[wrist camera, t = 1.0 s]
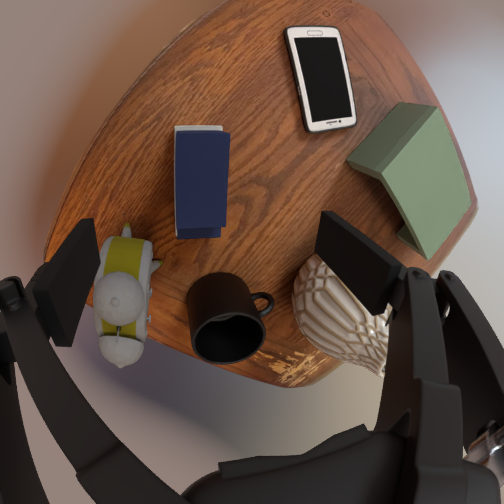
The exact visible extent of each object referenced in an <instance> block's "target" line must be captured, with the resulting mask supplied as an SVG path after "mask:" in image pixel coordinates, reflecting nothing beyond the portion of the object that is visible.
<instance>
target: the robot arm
mask: <svg viewBox="0 0 504 504" xmlns="http://www.w3.org/2000/svg"><path fill="white" fill-rule="evenodd" d="M314 252H315V253H316V254H317V255H318V256H319V257H320V258H321V259H322V260H323V261H324V263H325V264H326V265H327V266H328V267H329V268H330V269H331V270H332V271H333V272H334V273H335V275H336V276H337V277H338V278H339V279H340V280H341V281H342V282H343V283H344V285H345V286H346V287H347V288H348V289H349V290H350V291H351V292H352V294H353V295H354V296H355V297H356V298H357V299H358V300H359V301H360V303H361V304H362V305H363V306H364V307H365V308H366V309H367V311H368V312H369V313H370V314H371V315H372V316H376V315H380V314H384V312H385V310H386V307H387V305H388V303H389V304H390V305H391V306H392V307H393V308H392V310H391V312H390V315H389V317H388V319H387V321H386V324H385V326H386V327H387V325H388V324H389V336H388V348H387V358H386V367H385V375H384V382H383V389H382V396H381V402H380V407H379V413H378V418H377V422H376V426H375V428H374V430H373V431H368V430H367V428H366V426H365V425H364V424H361V425H359V426H356V427H354V428H351V429H349V430H346V431H343V432H341V433H338V434H335V435H333V436H332V437H330V438H328V439H327V440H325V441H324V442H322V443H321V444H319V445H318V446H316V447H314V448H313V449H311V450H309V451H308V452H306V453H304V454H301V455H291V456H255V457H250V458H245V459H239V460H233V461H226V462H219V463H218V468H219V470H218V471H215V472H212V473H210V474H208V475H206V476H204V477H202V478H200V479H199V480H197V481H195V482H194V483H193V484H191V485H190V486H189V487H188V488H187V489H186V490H185V491H184V492H183V493H182V494H181V495H179V494H178V493H177V492H175V491H174V490H173V489H171V488H170V487H169V486H168V485H167V484H166V483H164V482H163V481H162V480H161V479H160V478H159V477H158V476H156V475H155V474H154V473H153V472H152V471H151V470H150V469H149V468H148V467H147V466H145V465H144V464H143V463H142V462H141V461H140V460H139V459H138V458H137V457H136V456H135V455H134V454H133V453H132V452H131V451H130V450H129V449H128V448H127V447H126V446H125V445H124V444H123V443H122V442H121V441H120V440H119V439H118V438H117V437H116V436H115V435H114V434H113V432H112V431H111V430H110V429H109V428H108V427H107V425H106V424H105V423H104V422H103V421H102V419H101V418H100V417H99V416H98V415H97V413H96V412H95V411H94V409H93V408H92V407H91V405H90V404H89V403H88V402H87V400H86V399H85V397H84V396H83V395H82V393H81V392H80V390H79V389H78V388H77V386H76V385H75V383H74V382H73V380H72V379H71V377H70V376H69V374H68V373H67V371H66V370H65V368H64V366H63V365H62V363H61V361H60V360H59V358H58V357H57V355H56V353H55V351H54V350H53V348H52V346H51V344H50V343H49V339H50V336H51V337H52V339H53V341H54V344H55V346H61V347H71V346H72V343H73V340H74V336H75V333H76V330H77V326H78V323H79V320H80V317H81V314H82V311H83V308H84V306H85V303H86V300H87V297H88V295H89V292H90V289H91V287H92V284H93V281H94V279H95V276H96V274H97V271H98V269H99V267H100V264H101V260H100V255H99V250H98V244H97V239H96V232H95V226H94V219H93V218H87V219H81V220H80V221H79V222H78V224H77V225H76V226H75V227H74V229H73V230H72V231H71V232H70V234H69V235H68V236H67V238H66V239H65V240H64V242H63V243H62V244H61V246H60V247H59V249H58V250H57V251H56V253H55V254H54V256H53V257H52V258H51V260H50V261H49V262H45V263H44V264H43V265H42V266H40V267H39V268H38V269H37V271H36V272H35V274H34V276H33V277H32V278H31V280H30V281H29V283H28V284H27V286H26V287H25V289H24V287H23V284H22V282H21V279H20V278H19V277H17V276H11V277H7V278H5V279H3V280H1V281H0V310H1V312H0V504H50V503H49V501H48V499H47V496H46V494H45V492H44V489H43V487H42V484H41V482H40V479H39V477H38V473H37V471H36V468H35V465H34V462H33V459H32V455H31V452H30V448H29V445H28V441H27V438H26V433H25V429H24V425H23V421H22V416H21V410H20V405H19V399H18V392H17V385H16V377H15V367H14V362H17V363H18V366H19V368H20V371H21V374H22V376H23V378H24V381H25V383H26V385H27V387H28V390H29V392H30V394H31V396H32V398H33V400H34V402H35V404H36V406H37V408H38V410H39V412H40V414H41V416H42V418H43V420H44V421H45V423H46V425H47V427H48V428H49V430H50V432H51V434H52V435H53V437H54V438H55V440H56V442H57V443H58V445H59V447H60V448H61V449H62V451H63V453H64V454H65V456H66V457H67V458H68V460H69V461H70V463H71V464H72V465H73V467H74V469H75V470H76V472H77V473H76V477H77V479H78V481H79V482H80V484H81V485H82V487H83V488H84V489H85V491H86V492H87V493H88V494H89V495H90V497H91V498H92V499H93V500H94V501H95V503H96V504H501V498H500V488H501V486H502V485H503V484H504V349H503V347H502V345H501V343H500V341H499V339H498V338H497V336H496V334H495V332H494V331H493V329H492V327H491V326H490V324H489V322H488V321H487V319H486V317H485V316H484V314H483V313H482V311H481V310H480V308H479V306H478V305H477V303H476V302H475V300H474V299H473V297H472V296H471V294H470V293H469V292H468V290H467V289H466V287H465V286H464V284H463V283H462V282H461V280H460V279H459V278H458V277H457V276H456V275H455V274H454V273H453V272H450V271H445V270H442V271H440V273H439V275H438V278H437V279H433V278H431V277H430V275H429V274H428V273H427V272H426V271H424V270H422V269H420V268H416V267H409V268H406V267H405V266H404V265H403V264H402V263H400V262H399V261H398V260H397V259H396V258H394V257H393V256H392V255H390V254H389V253H388V252H387V251H385V250H384V249H383V248H382V247H380V246H379V245H378V244H376V243H375V242H374V241H372V240H371V239H370V238H368V237H367V236H366V235H365V234H363V233H362V232H360V231H359V230H358V229H356V228H355V227H354V226H352V225H351V224H350V223H348V222H347V221H345V220H344V219H343V218H341V217H340V216H338V215H337V214H336V213H334V212H333V211H321V217H320V223H319V229H318V234H317V239H316V245H315V250H314ZM449 306H450V311H449V314H448V316H447V317H446V315H445V314H446V312H447V310H448V307H449ZM463 446H464V449H465V451H466V453H467V455H466V456H465V457H464V458H463ZM462 458H463V459H462Z"/></svg>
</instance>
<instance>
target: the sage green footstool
mask: <svg viewBox="0 0 504 504" xmlns="http://www.w3.org/2000/svg"><path fill="white" fill-rule="evenodd" d="M346 161H347V162H348V164H349V165H350V166H351V168H353V169H355V170H358V171H360V172H363V173H365V174H367V175H370V176H372V177H374V178H377V179H379V180H381V182H382V184H383V185H384V187H385V188H386V190H387V192H388V193H389V195H390V197H391V198H392V200H393V202H394V203H395V205H396V207H397V209H398V210H399V212H400V214H401V216H402V217H403V219H404V221H405V224H404V226H403V227H402V228H401V229H400V230H399V231H398V232H397V234H396V235H397V236H398V238H399V240H401V241H402V242H403V243H405V244H406V245H408V246H409V247H410V248H412V249H413V250H414V251H416V252H417V253H418V254H420V255H421V256H423V257H424V258H425V259H426V260H428V261H429V259H430V258H431V257H432V256H433V254H434V253H435V252H436V251H437V250H438V248H439V247H440V246H441V244H442V243H443V242H444V241H445V239H446V238H447V237H448V235H449V234H450V233H451V231H452V230H453V229H454V227H455V226H456V225H457V223H458V222H459V221H460V219H461V218H462V216H463V215H464V214H465V212H466V211H467V209H468V208H469V206H470V205H471V199H470V195H469V191H468V187H467V184H466V180H465V177H464V173H463V170H462V167H461V164H460V161H459V158H458V155H457V152H456V149H455V146H454V144H453V141H452V138H451V136H450V133H449V131H448V128H447V126H446V124H445V121H444V119H443V117H442V114H441V112H440V110H439V108H438V107H436V106H429V105H421V104H413V103H403V102H399V103H398V104H397V105H396V107H395V108H394V109H393V110H392V111H391V112H390V113H389V114H388V115H387V116H386V117H385V118H384V119H383V120H382V121H381V123H380V124H379V125H378V126H377V127H376V128H375V129H374V130H373V131H372V132H371V133H370V134H369V135H368V136H367V137H366V138H365V140H364V141H363V142H362V143H361V144H360V145H359V146H358V147H357V148H356V149H355V150H354V151H353V152H352V153H351V154H350V155H349V157H348V158H347V159H346Z"/></svg>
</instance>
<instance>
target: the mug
mask: <svg viewBox="0 0 504 504" xmlns="http://www.w3.org/2000/svg"><path fill="white" fill-rule="evenodd" d="M258 298H264V299H266V300H267V301H268V305H267V306H266V308H264V309H263V310H260V311H258V310H257V308H256V305H255V303H254V300H256V299H258ZM273 307H274V299H273V297H272V296H271V295H270V294H269V293H266V292H258V293H252V294H250V291H249V289H248V287H247V285H246V284H245V282H244V281H243V280H242V279H240V278H239V277H237V276H235V275H232V274H229V273H213V274H209V275H206V276H204V277H202V278H201V279H199V280H198V281H197V282H195V283H194V285H193V286H192V287H191V289H190V290H189V292H188V295H187V310H188V319H189V327H190V335H191V343H192V348H193V350H194V352H195V353H196V355H197V356H198V357H200V358H201V359H202V360H204V361H206V362H209V363H213V364H220V365H226V364H233V363H237V362H240V361H243V360H245V359H247V358H249V357H251V356H252V355H253V354H255V353H256V352H257V351H258V350H259V349H260V348H261V346H262V345H263V343H264V340H265V336H266V330H265V326H264V324H263V322H262V319H261V318H263V317H264V316H265V315H267V314H268V313H270V311H271V310H272V309H273Z"/></svg>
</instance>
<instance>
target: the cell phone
mask: <svg viewBox="0 0 504 504" xmlns="http://www.w3.org/2000/svg"><path fill="white" fill-rule="evenodd" d="M284 35H285V39H286V43H287V47H288V51H289V55H290V59H291V63H292V67H293V72H294V76H295V81H296V85H297V87H298V91H299V99H300V104H301V109H302V115H303V120H304V125H305V128H306V131H307V132H308V133H321V132H327V131H333V130H339V129H345V128H351V127H354V126H356V124H357V114H356V107H355V108H354V106H355V101H353V100H354V95H352V94H353V89H352V83H351V78H350V73H349V68H348V63H347V59H346V54H345V50H344V46H343V42H342V38H341V34H340V32H339V29H338V28H337V27H335V26H324V25H298V26H289V27H287V28H285V29H284Z"/></svg>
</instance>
